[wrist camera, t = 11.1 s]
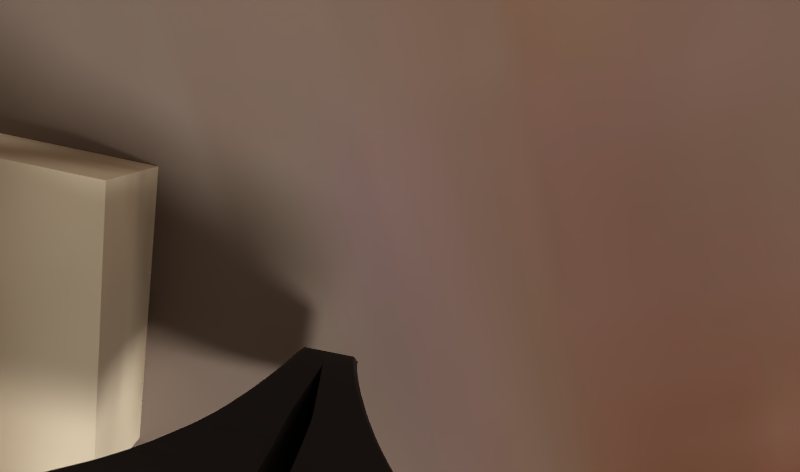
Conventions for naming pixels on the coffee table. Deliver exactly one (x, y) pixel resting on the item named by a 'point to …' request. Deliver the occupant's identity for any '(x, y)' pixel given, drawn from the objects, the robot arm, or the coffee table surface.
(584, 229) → the coffee table surface
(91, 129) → the coffee table surface
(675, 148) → the coffee table surface
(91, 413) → the beige rectangular box
